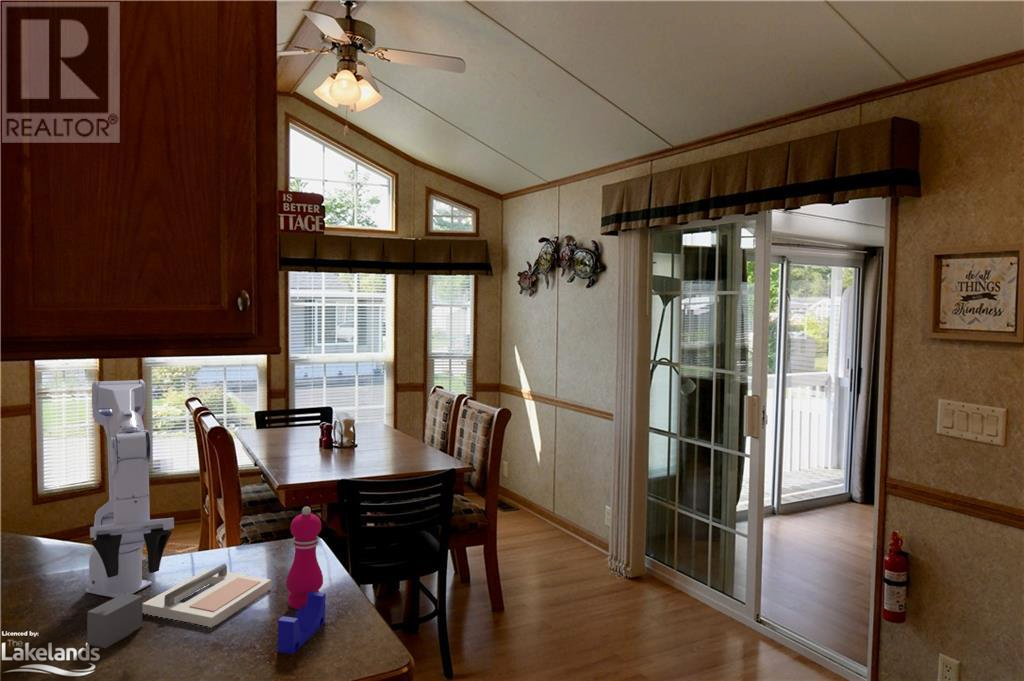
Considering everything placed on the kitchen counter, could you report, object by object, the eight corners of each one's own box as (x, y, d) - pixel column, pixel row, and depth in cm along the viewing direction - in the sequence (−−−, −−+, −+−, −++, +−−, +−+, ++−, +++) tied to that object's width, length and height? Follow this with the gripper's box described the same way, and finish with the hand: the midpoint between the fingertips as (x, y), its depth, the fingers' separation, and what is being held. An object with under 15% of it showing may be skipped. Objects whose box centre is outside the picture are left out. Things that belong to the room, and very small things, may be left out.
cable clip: (303, 620, 130) (304, 590, 130) (324, 623, 129) (325, 593, 129) (269, 651, 118) (270, 619, 118) (293, 655, 118) (293, 622, 117)
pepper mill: (307, 591, 142) (309, 499, 141) (330, 601, 138) (332, 506, 136) (278, 603, 136) (280, 506, 135) (300, 614, 132) (302, 515, 131)
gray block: (87, 644, 118) (87, 611, 118) (124, 623, 126) (125, 592, 125) (105, 648, 117) (105, 615, 116) (142, 627, 125) (142, 596, 124)
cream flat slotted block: (142, 613, 129) (142, 592, 129) (207, 577, 147) (208, 558, 146) (211, 628, 125) (211, 606, 125) (271, 588, 142) (271, 569, 142)
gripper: (78, 504, 120) (79, 583, 118) (158, 495, 119) (160, 574, 117) (103, 500, 127) (104, 574, 125) (179, 492, 126) (181, 566, 124)
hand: (133, 574), depth 122 cm, fingers open, 7 cm apart
